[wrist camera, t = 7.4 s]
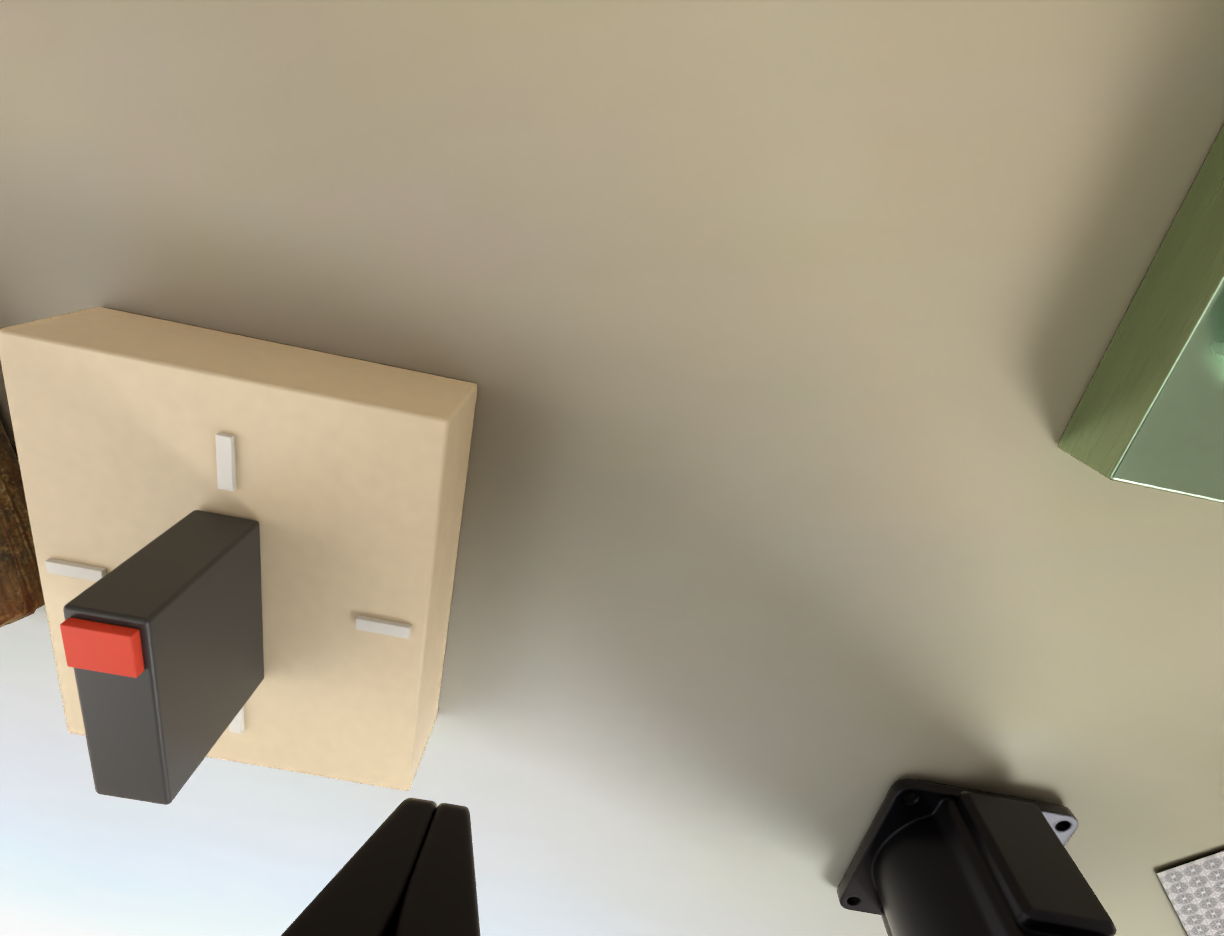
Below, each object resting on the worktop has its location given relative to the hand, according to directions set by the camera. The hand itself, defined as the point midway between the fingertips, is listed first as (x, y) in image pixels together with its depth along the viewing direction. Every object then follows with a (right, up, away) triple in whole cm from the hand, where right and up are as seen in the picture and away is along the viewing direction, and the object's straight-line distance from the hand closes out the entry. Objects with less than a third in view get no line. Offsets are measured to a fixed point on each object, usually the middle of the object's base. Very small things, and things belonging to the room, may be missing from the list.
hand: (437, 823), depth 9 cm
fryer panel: (-7, +3, +11) cm, 13 cm away
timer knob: (-7, +1, +8) cm, 11 cm away
